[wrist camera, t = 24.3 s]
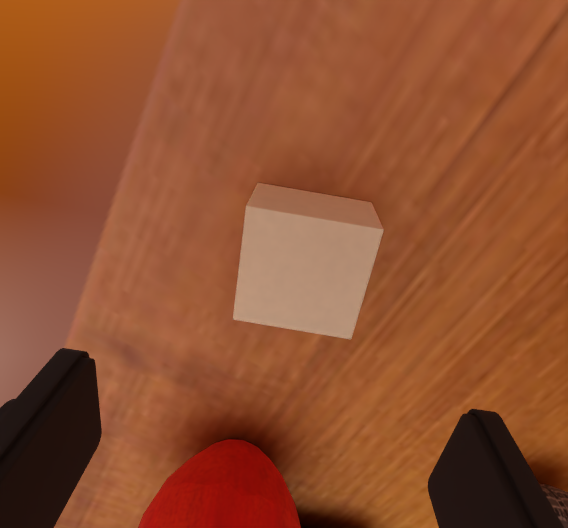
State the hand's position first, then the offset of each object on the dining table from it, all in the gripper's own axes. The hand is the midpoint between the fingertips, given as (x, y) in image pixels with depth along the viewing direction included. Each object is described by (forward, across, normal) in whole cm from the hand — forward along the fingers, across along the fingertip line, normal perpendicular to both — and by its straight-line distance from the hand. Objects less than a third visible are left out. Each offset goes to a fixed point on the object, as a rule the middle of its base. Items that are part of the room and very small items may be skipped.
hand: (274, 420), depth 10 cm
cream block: (+11, -1, 0) cm, 11 cm away
